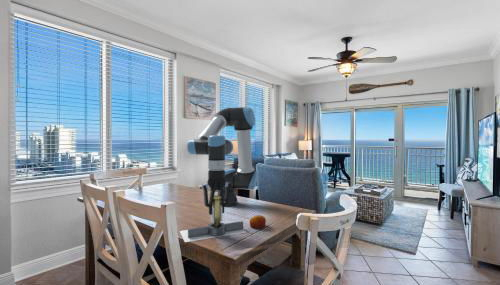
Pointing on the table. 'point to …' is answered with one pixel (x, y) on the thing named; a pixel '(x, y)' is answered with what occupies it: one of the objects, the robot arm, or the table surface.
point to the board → (186, 239)
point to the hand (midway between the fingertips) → (216, 220)
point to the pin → (216, 209)
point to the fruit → (257, 222)
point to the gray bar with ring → (215, 229)
